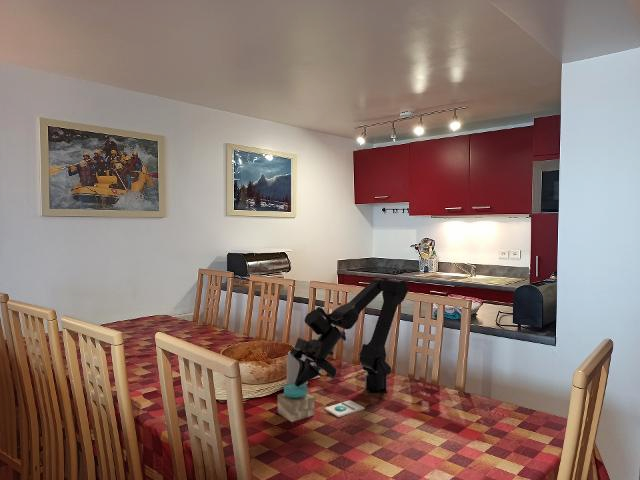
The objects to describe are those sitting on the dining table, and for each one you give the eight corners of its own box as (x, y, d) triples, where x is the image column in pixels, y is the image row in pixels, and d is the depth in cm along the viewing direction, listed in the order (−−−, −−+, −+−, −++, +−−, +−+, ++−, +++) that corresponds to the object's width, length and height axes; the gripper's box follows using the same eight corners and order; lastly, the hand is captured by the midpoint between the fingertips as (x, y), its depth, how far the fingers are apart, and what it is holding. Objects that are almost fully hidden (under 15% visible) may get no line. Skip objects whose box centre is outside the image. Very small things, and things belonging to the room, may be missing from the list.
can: (282, 387, 160) (282, 353, 160) (293, 380, 167) (293, 347, 166) (301, 390, 157) (300, 356, 156) (311, 383, 163) (311, 350, 163)
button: (299, 396, 143) (299, 380, 142) (311, 403, 137) (311, 387, 137) (279, 401, 139) (279, 385, 138) (292, 409, 133) (291, 392, 133)
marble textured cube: (299, 406, 143) (299, 389, 143) (314, 415, 137) (314, 397, 137) (277, 412, 139) (277, 394, 139) (291, 422, 132) (291, 403, 132)
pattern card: (349, 401, 147) (349, 399, 147) (364, 409, 141) (364, 406, 141) (324, 409, 141) (324, 407, 141) (338, 417, 135) (338, 415, 135)
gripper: (294, 322, 148) (264, 362, 142) (328, 334, 132) (296, 379, 126) (314, 342, 152) (286, 382, 147) (349, 356, 137) (319, 400, 131)
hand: (296, 385), depth 138 cm, fingers closed, pressing on button
